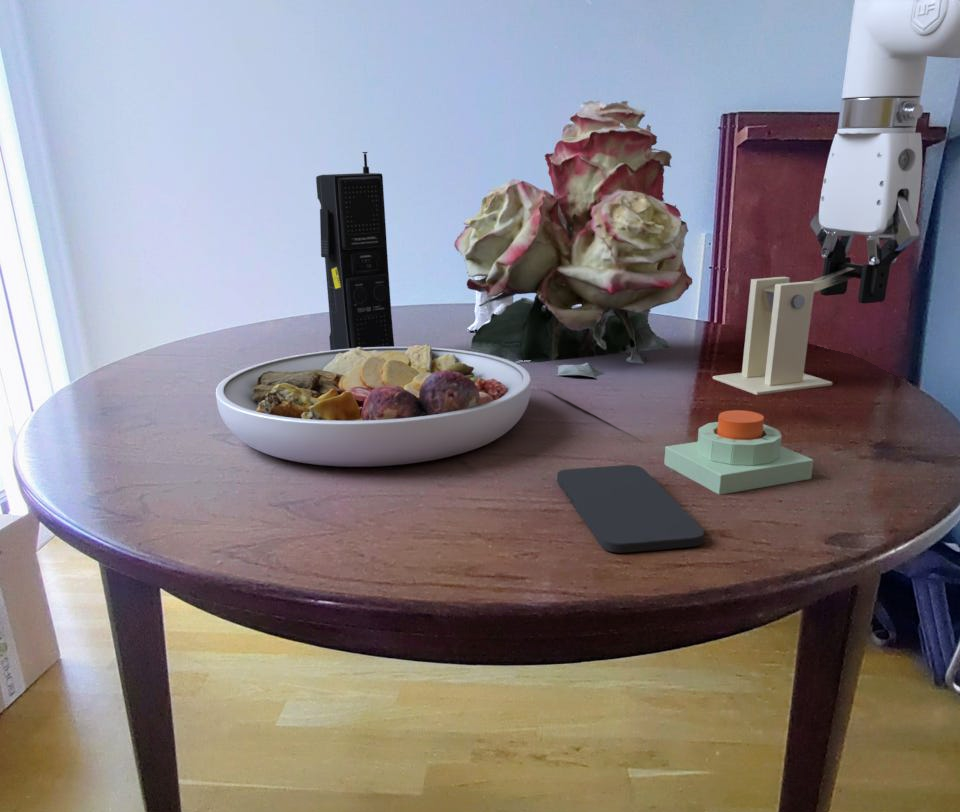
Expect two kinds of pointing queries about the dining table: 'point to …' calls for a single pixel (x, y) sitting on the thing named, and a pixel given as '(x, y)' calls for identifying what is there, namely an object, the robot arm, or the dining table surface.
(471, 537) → the dining table surface
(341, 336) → the portable radio
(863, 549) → the dining table surface
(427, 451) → the bowl
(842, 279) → the lever
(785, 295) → the bracket
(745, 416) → the button
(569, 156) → the rose bouquet
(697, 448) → the button block
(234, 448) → the dining table surface
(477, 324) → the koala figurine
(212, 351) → the dining table surface
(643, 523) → the phone
